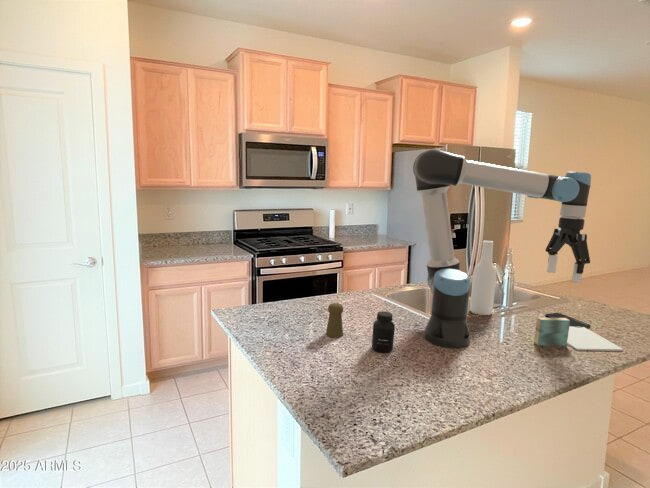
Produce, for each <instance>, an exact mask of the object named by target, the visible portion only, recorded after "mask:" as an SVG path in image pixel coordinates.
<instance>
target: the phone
mask: <svg viewBox="0 0 650 488" xmlns="http://www.w3.org/2000/svg"><path fill="white" fill-rule="evenodd" d="M544 318H567V319H568V320H570V325H569V326H570V327H578V328H580V327H585V328H587V329H590V328H591V326H592V325H591V324H589V323H586V322H583V321H581V320H578V319H576V318H573V317H571V316H568V315H566V314H563V313H561V312H553V313H552V312H551V313H545V315H544Z"/></svg>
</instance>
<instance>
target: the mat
mask: <svg viewBox="0 0 650 488" xmlns="http://www.w3.org/2000/svg"><path fill="white" fill-rule="evenodd" d="M567 345H568V346H569V347H571V348H572V349H574V350H575V351H586V352H587V350H588V351H589V352H590V351H595V352H597V351H598V352H599V351H601V352H603V351H604V352H607V351H608V352H611V351H612V352H623V351H624V348H622V347H621V346H618V345H617V344H615V343H613V342H611V341H610V340H608V339H606V338H604V337H602V336H601V335H599V334H597V333H596V332H595V331H592V330H590V328H585V327H580V328H578V327H570V326H569V332H568V339H567Z"/></svg>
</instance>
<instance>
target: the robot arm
mask: <svg viewBox="0 0 650 488" xmlns="http://www.w3.org/2000/svg"><path fill="white" fill-rule="evenodd" d="M412 171H413V174H414V178H415V185H416V191H417V192H418V193H419V194H420V195H421V198H422V205H423V214H424V221H425V230H426V237H427V238H426V239H427V245H428V252H429V253H428V254H429V260H428V262H427V263H426V269H427V284H428V287H429V289H430V291H431V295H432V301H431V314H430V317H429V318H428V321H427V323H426V326H425V327H424V335H423V336H424V337H423V338H424V339H425V340H426V341H427V342H429V343H431V344H433V345H436V346H440V347H443V348H444V347H445V348H452V349H454V348H464V347H467V346H469V345H470V344H471V343H470V342H471V333H470V329H469V325H468V321H467V317H468V309H469V299H470V290H471V277H470V275H469V274H468V273H466V272H465V271H462V270H461V266H460V260H459V259H458V258H456V257H455V252H454V251H455V250H454V244H453V236H452V227H451V219H450V210H449V201H448V194H447V192H448V190H449V189H450V187H451V186H454V187H455V186H456V187H458V186H459V185H460V184H463V185H468V186H473V187H479V188H484V189H490V190H494V191H500V192H506V193H511V194H512V193H513V194H518V195H523V196H527V198H529V199H530V198H532V199H543V200H550V201H556V202H559V203H561V205H560V211H559V215H560V217H559V218H558V219H559V220H558V224H557V225H558V228H554V230H553V233H552V236H551V238H550V240H549V241H548V244H547V246H546V248H545V252H547V254H548V258H547V259H548V261H547V269H546V273H548V274H549V273H550V274H551V273H553V274H554V273H556V269H557V264H558V258H559V257H558V256H559V255H558V254H559V251H561V250H562V248H563V247H564V246H565V245H567V246H569V247H570V249H571V251H572V254H573V256H574V259H575V261H576V262H574V264H573V270H572V271H573V272H572V277H571V283H573V284H577V283H578V284H581V282H582V278H583V277H582V276H583V273H584V269H585V265H586V264H591V259H590V253H589V247H588V242H587V240H588V235H587V234H586V233H581V231H582V230H583V229H584V226H585V219H584V218H586V213H587V206H588V200H589V195H590V190H591V189H590V188H591V187H592V186H591V184H592V183H591V182H592V175H591V173H589V172H586V171H585V172H584V171H583V172H582V171H567V172H566V173H565V176H558V175H554V174H548V173H542V172H537V171H531V170H526V169H518V168H514V167H510V166H509V167H507V166H502V165H496V164H491V163H486V162H479V161H474V160H468V159H467V158H466V157H465V156H464V155H460V154H456V153H455V154H454V153H451V152H447V151H444V150H441V149H438V148H437V149H436V148H432V149H427V150H425V151H423V152H420V154H418V156H417V157H416V158H415V160H414V161H413V166H412Z"/></svg>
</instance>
